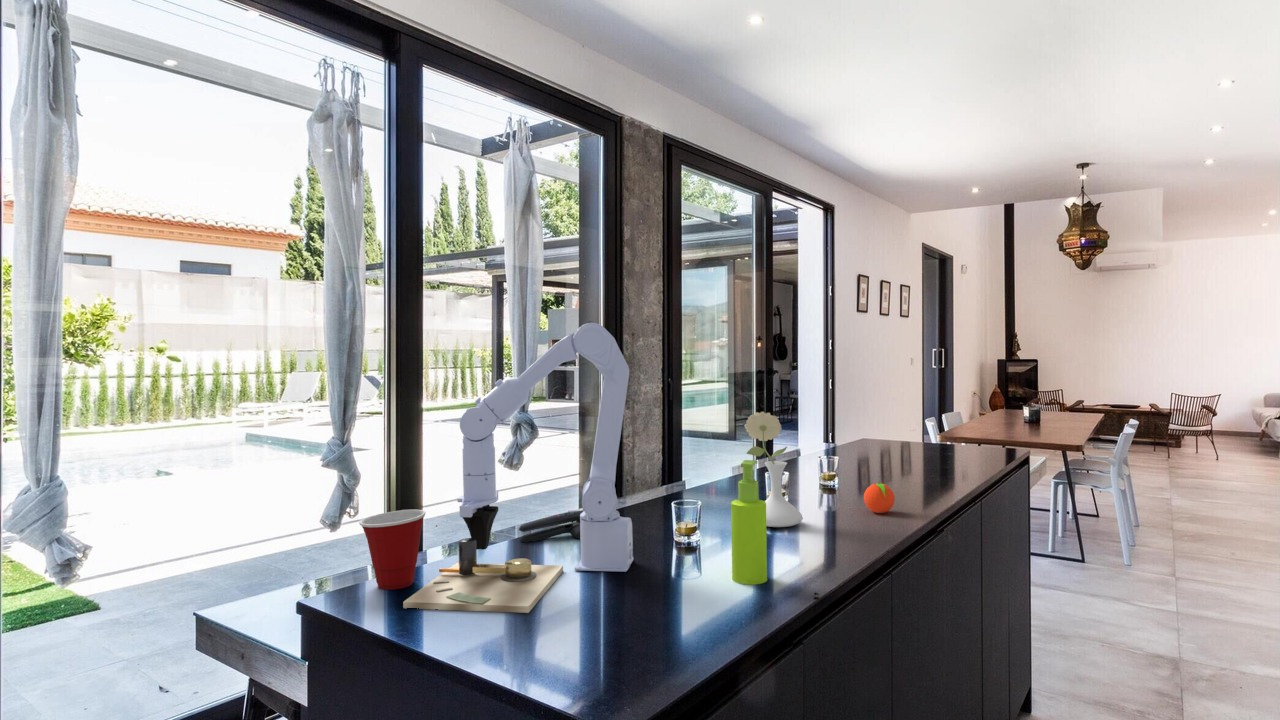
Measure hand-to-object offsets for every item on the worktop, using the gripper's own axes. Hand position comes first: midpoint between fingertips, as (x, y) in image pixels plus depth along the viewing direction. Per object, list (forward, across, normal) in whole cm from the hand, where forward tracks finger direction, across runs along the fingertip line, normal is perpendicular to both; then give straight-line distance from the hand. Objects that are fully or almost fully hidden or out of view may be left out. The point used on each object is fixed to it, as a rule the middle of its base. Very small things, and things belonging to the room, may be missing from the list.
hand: (480, 548), depth 134 cm
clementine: (+4, -51, +78) cm, 94 cm away
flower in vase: (+4, -38, +53) cm, 66 cm away
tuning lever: (+2, +6, +3) cm, 7 cm away
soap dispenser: (+4, +1, +48) cm, 48 cm away
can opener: (+4, -24, +9) cm, 26 cm away
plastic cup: (+4, +9, -12) cm, 16 cm away
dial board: (+4, +10, +5) cm, 12 cm away
